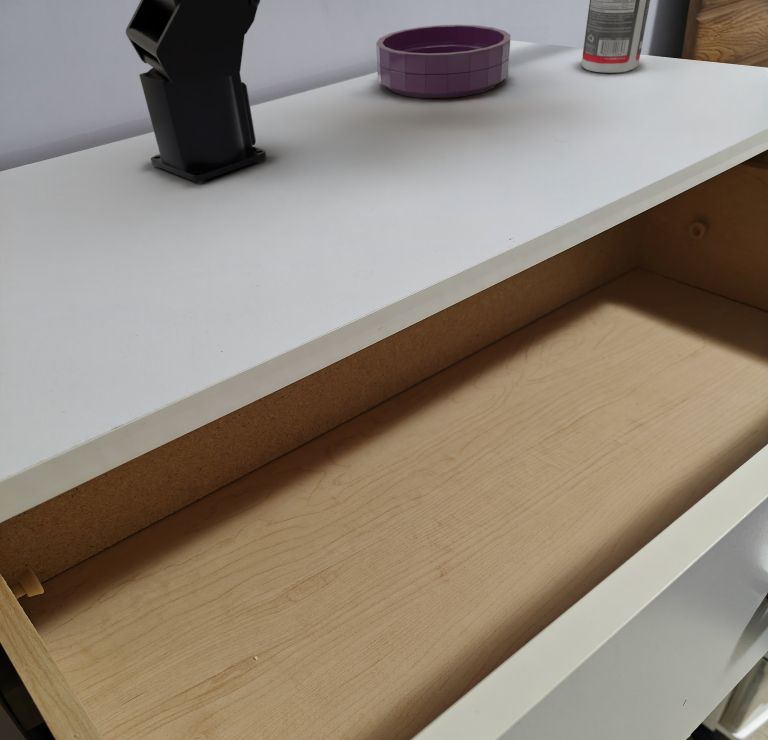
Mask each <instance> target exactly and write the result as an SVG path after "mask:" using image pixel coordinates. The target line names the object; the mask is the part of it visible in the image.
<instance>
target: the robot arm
mask: <svg viewBox="0 0 768 740" xmlns="http://www.w3.org/2000/svg"><path fill="white" fill-rule="evenodd" d="M260 3H261V0H140V1H139V3H138V5H137V6H136V9H135V11H134V13H133V14H132V17H131V19H130V20H129V22H128V25H127V26H126V28H125V34H126V37H127V39H128V41H129V43H130V44H131V46H132V47H133V49H134V51H135V52H136V54H137V56H138V58H139V59H140V60H141V62H143V63H144V64H148V65H149V66H150V67H151V68H150V69H149V70H148V71H146V72H143V73H139V79H140V83H141V87H142V91H143V95H144V98H145V103H146V106H147V110H148V113H149V114H148V115H149V117H150V121H151V125H152V129H153V133H154V136H155V140H156V144H157V148H158V152H159V153H158V154H156V155H153V156H151V157H150V161H151V165H152V166H153V167H154V166H155V167H157V168H159V169H162V170H165V171H168V172H170V173H172V174H174V175H178V176H180V177H183V178H185V179H187V180H191V181H193V182H204V181H207V180H209V179H212V178H216V177H217V176H220V175H223V174H225V173H228V172H231V171H234V170H237V169H240V168H242V167H245V166H249V165H251V164H253V163H256V162H259V161H263V160H264V159H266V158H267V152H266V150H265V149H262V148H260V147H256V146H255V145H256V142H257V139H256V132H255V127H254V121H253V114H252V109H251V103H250V96H249V91H248V86H247V84H246V83H245V82H244V81H242V77H241V69H242V59H243V52H244V44H245V43H244V42H245V35H246V34H247V33H248V32H249V30H250V29H251V27H252V26H253V23H254V22H255V19H256V15H257V11H258V7H259V5H260Z"/></svg>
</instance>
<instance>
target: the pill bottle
mask: <svg viewBox="0 0 768 740" xmlns="http://www.w3.org/2000/svg"><path fill="white" fill-rule="evenodd" d="M650 4H651V0H589V5H588V10H587V11H588V12H587V19H586V27H585V34H584V40H583V41H584V42H583V49H582V57H581V66H582V68H584V69H585V70H587V71H589V72H595V73H606V74H607V73H609V74H610V73H611V74H612V73H615V74H616V73H625V72H628V71H632V70H634V69H636V68H637V67H638V66H639V63H640V58H641V54H642V50H643V49H642V48H643V43H644V36H645V32H646V25H647V21H648V14H649V10H650Z"/></svg>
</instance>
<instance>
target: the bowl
mask: <svg viewBox="0 0 768 740" xmlns="http://www.w3.org/2000/svg"><path fill="white" fill-rule="evenodd" d="M375 49H376V68H377V69H376V70H377V80H378V82H379V83H380V84H381V85H382V86H384V87H386V88H388V89H389V90H390V91H391V92H392V93H395V94H398V95H400V96H405V97H411V98H417V99H419V98H421V99H451V98H452V99H453V98H460V97H468V96H472V95H477V94H482V93H485V92H487V91H489V90H491V89H493V88H495V87H496V86H497V85H498V84H499V83H501V82H502V81H504V80H505V79H506V78H508V76H509V64H510V50H511V34H510V33H508V32H507V31H506V30H503V29H499V28H497V27H492V26H486V25H485V26H484V25H477V24H437V25H426V26H417V27H412V28H406V29H401V30H396V31H393V32H390V33H387V34H385V35H383V36H381V37H379V38H378V40H377V41H376V44H375Z"/></svg>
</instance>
